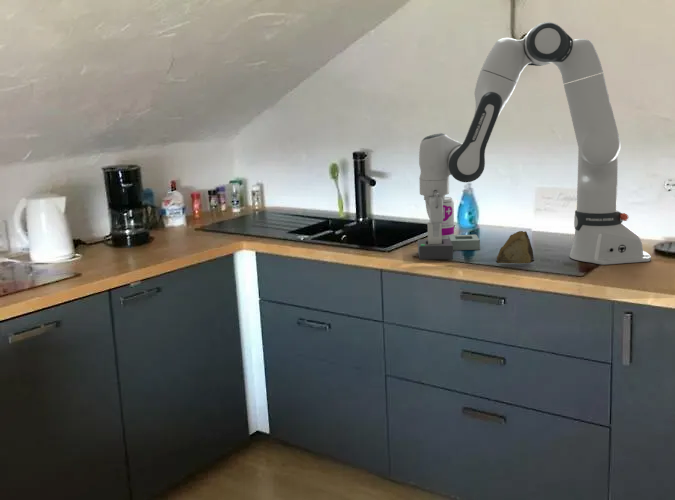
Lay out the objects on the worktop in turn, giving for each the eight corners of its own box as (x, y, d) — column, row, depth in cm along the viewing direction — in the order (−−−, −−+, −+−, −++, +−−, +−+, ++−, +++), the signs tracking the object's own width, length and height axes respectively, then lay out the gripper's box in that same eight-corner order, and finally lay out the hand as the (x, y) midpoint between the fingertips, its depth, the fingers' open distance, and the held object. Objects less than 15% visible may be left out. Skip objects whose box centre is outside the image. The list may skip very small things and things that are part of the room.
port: (449, 254, 226) (449, 237, 225) (452, 261, 216) (452, 244, 215) (417, 255, 227) (417, 238, 226) (419, 262, 217) (419, 245, 216)
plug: (441, 250, 223) (440, 222, 221) (441, 253, 220) (441, 224, 218) (428, 251, 223) (427, 222, 221) (428, 253, 220) (428, 224, 218)
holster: (476, 246, 236) (476, 234, 235) (479, 252, 227) (479, 240, 226) (448, 247, 236) (448, 235, 235) (451, 253, 228) (450, 240, 227)
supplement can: (455, 244, 241) (455, 199, 237) (431, 244, 241) (430, 200, 238) (452, 239, 249) (452, 196, 245) (428, 240, 249) (427, 197, 246)
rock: (489, 257, 210) (522, 256, 205) (493, 231, 213) (525, 229, 208) (502, 272, 218) (535, 271, 212) (506, 247, 221) (538, 245, 216)
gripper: (447, 192, 207) (448, 239, 210) (442, 183, 227) (442, 226, 230) (425, 193, 207) (426, 240, 210) (422, 184, 227) (422, 227, 230)
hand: (434, 233), depth 220 cm, fingers open, 8 cm apart
